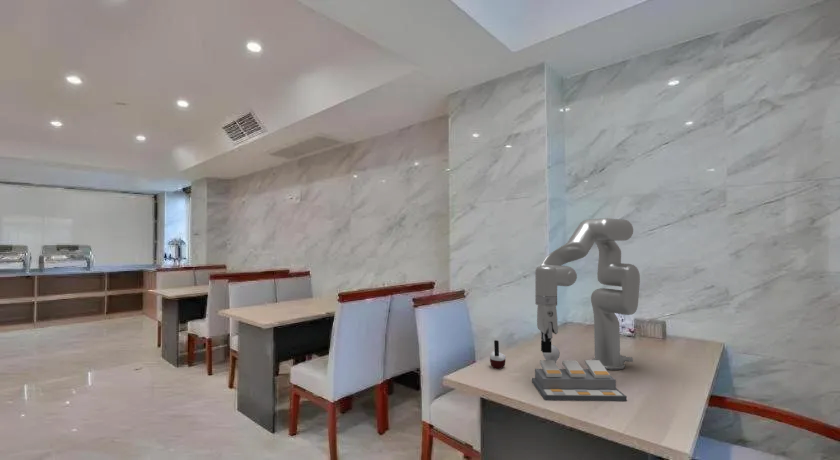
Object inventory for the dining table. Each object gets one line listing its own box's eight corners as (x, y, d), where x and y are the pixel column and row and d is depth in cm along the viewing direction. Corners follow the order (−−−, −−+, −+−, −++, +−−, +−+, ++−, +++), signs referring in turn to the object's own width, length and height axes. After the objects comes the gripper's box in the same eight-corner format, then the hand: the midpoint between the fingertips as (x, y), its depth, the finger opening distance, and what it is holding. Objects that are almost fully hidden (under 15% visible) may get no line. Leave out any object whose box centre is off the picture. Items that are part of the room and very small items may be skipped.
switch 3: (598, 363, 137) (599, 359, 137) (609, 378, 129) (610, 374, 128) (584, 363, 138) (584, 359, 137) (594, 378, 129) (595, 374, 128)
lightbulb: (559, 371, 151) (559, 343, 151) (560, 376, 145) (559, 347, 145) (543, 369, 153) (542, 341, 153) (542, 374, 147) (542, 346, 147)
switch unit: (604, 382, 138) (604, 368, 139) (626, 401, 122) (626, 385, 123) (532, 382, 139) (531, 368, 140) (544, 400, 123) (544, 384, 124)
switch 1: (553, 363, 138) (553, 359, 138) (561, 377, 129) (562, 373, 129) (539, 363, 138) (539, 359, 138) (546, 377, 129) (547, 373, 129)
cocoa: (495, 364, 161) (495, 335, 162) (509, 366, 157) (508, 337, 158) (484, 369, 154) (484, 338, 155) (499, 372, 150) (498, 340, 151)
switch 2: (576, 363, 138) (576, 360, 137) (585, 377, 129) (586, 373, 129) (562, 363, 138) (562, 359, 138) (570, 377, 129) (571, 373, 129)
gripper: (563, 303, 130) (563, 358, 129) (550, 298, 145) (550, 346, 144) (541, 303, 131) (541, 357, 130) (530, 297, 145) (530, 346, 145)
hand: (546, 351), depth 137 cm, fingers closed
